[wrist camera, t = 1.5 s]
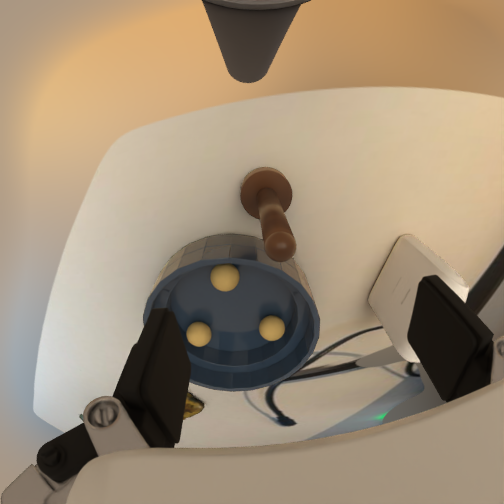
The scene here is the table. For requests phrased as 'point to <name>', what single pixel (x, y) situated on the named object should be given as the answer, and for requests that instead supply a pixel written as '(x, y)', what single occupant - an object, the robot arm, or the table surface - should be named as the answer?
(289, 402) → the table surface
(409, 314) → the photo printer
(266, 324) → the dough ball
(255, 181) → the wooden dough tamper
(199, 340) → the dough ball
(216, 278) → the dough ball
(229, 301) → the bowl
